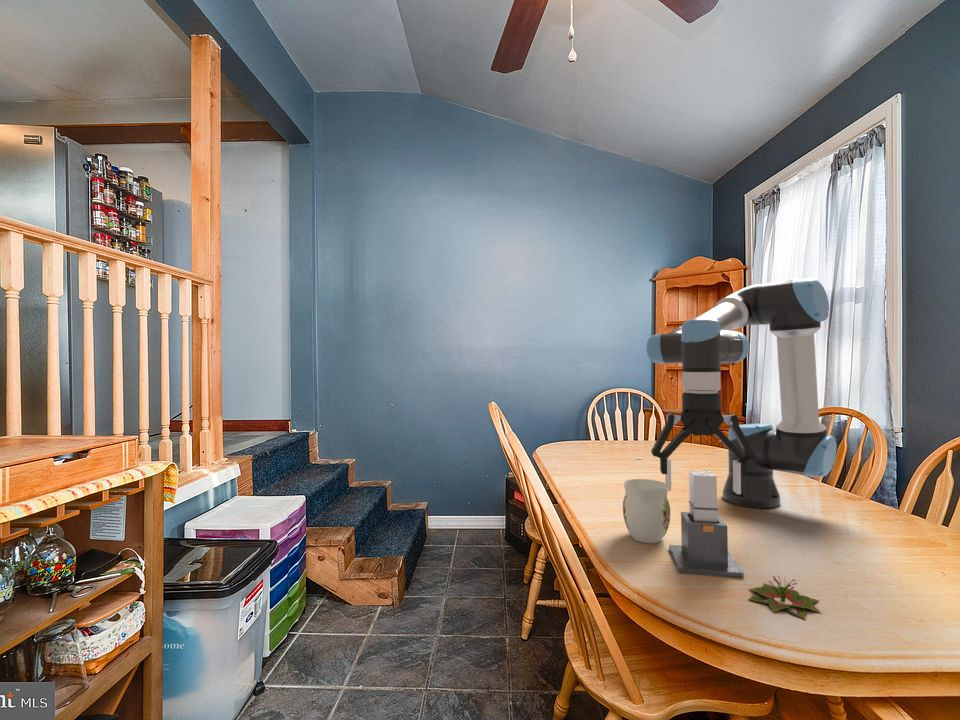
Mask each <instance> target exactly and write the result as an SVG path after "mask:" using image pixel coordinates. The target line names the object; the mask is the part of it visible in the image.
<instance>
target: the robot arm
mask: <svg viewBox="0 0 960 720" xmlns="http://www.w3.org/2000/svg"><path fill="white" fill-rule="evenodd" d="M829 311H830V303H829V299H828V295H827V292H826V290H825V288H824V286H823V284H822V283H821V282H820V281H819V280H817V279H815V278H810V277H808V278H795V279H789V280H783V281H782V280H781V281H774V282H768V283H767V282H766V283H759V284H758V283H757V284H753V285H749V286H747V287H744V288H741V289H739V290H737V291H735V292H732V293H730V294H728V295H727V296H724V297H723V298H721V299H720V300H718V301H717V302H716V304H715V305H714V307H712V308H711V309H709V310H707V311H706V312H703V313H701V314H700V315H698V316H696V317H695V318H693V319H689V320H685V321H684V322H683V323H682V324H681V325H680V326H679V327H677V328H676V329H674V330H672V331H670V332H668V333H662V332H661V333H657V334H653V335H650V337H648V340H647V342H646V348H645V349H646V355H647V357H648V359H649V360H650V361H651V362H652V363H655V364H664V365H667V364H669V365H670V364H673V365H674V364H675V365H676V364H681V366H682V368H681V379H682V380H681V389H682V390H683V391H684V392H682V394H681V396H682V397H681V410H682V411H681V413H680V415H679V414H672V412H670V413H669V412H668V413H667V414H666V418H665V424H664V426H663V427H662V430H661V431H660V433H659V436H658V437H657V439H656V441H655V443H654V444H653V446H652V449H651V450H650V453H651V454H652V456H653V457H656V458H659V464H660V467H659V471H660V473H661V474H662V475H665V478H664V479H665V482H664V483H665V485H666V489H667V491H668V492H672V460H671V458H669V457H670V456H671V455H672V454H673V453H674V452H675V450H676V449H678V447H679V446H680V445H681V444H682V443H683V442H684V441H685V440H686V439H687V438H688V437H689V436H690V435H694V436H695V437H696V436H705V437H711V436H712V435H715V437H716V438H717V439H718V441H720V442H721V444H723V445H724V446H725V448H726V449H728V453H727V454H728V458H727V459H728V474H727V477H726V479H725V482H724V486H723V488H722V499H723V500H725V501H726V502H728V503H731V504H735V505H738V506H740V507H741V506H742V507H749V508H757V509H770V508H771V509H773V508H776V507H779V506H781V495H780V492H779V489H778V487H777V484H776V482H775V480H774V471H776V472H783V473H787V474H789V473H790V474H795V475H800V476H804V477H812V478H813V477H815V478H824V477H825V476H827V475H828V474H829V473H830V472H831V471H832V469H833V466H834V463H835V461H836V460H835V459H836V457H837V444H838V443H837V441H836V440H837V439H836V438H835V437H834V436H833V435H831V434H827V433H828V432H827V426H825V424H823V423H822V422H821V421H820V416H819V415H820V413H819V397H818V379H817V363H816V361H817V360H816V358H817V357H816V344H815V334H816V333H817V332H818V331H819V330H820V329H821V324H822V322H824V321H826V320H827V319H828V317H829ZM757 325H759V326H761V325H768V327H769V332H770V333H771V334H773V335H774V336H775V338H776V346H777V347H776V348H777V351H776V352H777V365H778V367H777V368H778V379H779V380H778V381H779V382H778V383H779V396H780V399H779V400H780V411H781V413H780V415H781V421H780V422H779V423H777V424H776V426H775V429H774V426H773V425H772V424H771V423H745V424H740V422H739V417H738V416H737V415H735V414H733V413H730V414H729V415H723V414H722V396H721V393H720V392H719V391H721V390H722V388H721V387H722V386H721V385H722V384H721V381H722V380H721V378H722V377H721V364H727V365H731V364H734V363H735V364H737V363H739V362H742V361H744V359H745V358H747V356H748V355H749V353H750V346H751V345H750V342H749V339H748V337H747V336H746V335H745V334H743V333H742V332H739V331H736V330H737V329H740V328H742V327H746V326H747V327H748V326H757ZM679 421H680V422H681V423H682V425H683V427H682V428H681V429H680V431H678V432H677V435H676V436H675V437H673V438H672V440H671V441H669V443H668V444H667V445H666V446H665V447H664V445H665V443H666V441H667V439H668V437H669V435H670V433H671V432H672V430H673V427H674V425H677V424H678V422H679ZM724 422H725V424H726V425H728V426H730V427H729V429H728V433H727V434H728V436H727V435H725V434H724V432H723V430H721V429H720V427H721V425H722V424H723V423H724ZM663 447H664V449H663ZM662 449H663V450H662ZM661 450H662V451H661Z"/></svg>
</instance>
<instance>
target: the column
mask: <svg viewBox="0 0 960 720" xmlns="http://www.w3.org/2000/svg"><path fill="white" fill-rule="evenodd" d="M717 477H718V476H717V475H716V474H715V473H714V472H713V471H712V470H688V490H689V491H688V493H689V494H688V495H689V496H688V498H689V500H688V503H689V512H690V520H691V521H692V522H698V523H716V524H717V514H718V511H719V508H718V486H717V485H718V483H717V481H718V479H717Z"/></svg>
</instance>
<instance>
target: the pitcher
mask: <svg viewBox="0 0 960 720" xmlns="http://www.w3.org/2000/svg"><path fill="white" fill-rule="evenodd" d="M623 486H624V491H625V495H624V498H623V501H622V515H623V519H624V520H623V521H624V524H625V526H626V529H627V531H628V533H629V534H630V535H631V537H632V539H633V540H634V541H637V542H640V543H645V544H657V543H660V542H661V541H662V539H663V538H664V537H665V535H666V534H667V532H668V529H669V527H670V523H671V505H670V501H669V498H668V492H669V491H667V489H666V485H665V482H663V481H659V480H655V479H648V478H634V479H628V480H625V481H624V482H623Z"/></svg>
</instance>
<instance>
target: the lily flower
mask: <svg viewBox="0 0 960 720" xmlns="http://www.w3.org/2000/svg"><path fill="white" fill-rule="evenodd" d="M772 577H773V580H774V582H775V583H776V585H777V586H778V587H777V586H775V585H774V584H773V582H771V580H769V581H768V582H769V584H767V583H765V582H763V585H762V586H759V587H754V588H753V587H752V588H749V590H750V591H753V592H756V593H757V594H753V595H751V596H750V598H747V600H748V601H754V602H759V603H763V604H767V605H769V607H770V609H772V613H773V614H774V613H776V612H779V611H781V610H784V611H787V612H789V613H791V614H792V615H795V616H797V617H799V618H802V619H803V620H805V621H806V616H807V611H806V610H805V609H808V610H811V611H813V612H814V611H815V612H817V613H819V614H823V612H821V611H820V610H819V609H818V608H817V607H816V605H814V604H815V603H817V602H819V601H820V600H819V599H815V598H812V597H809V596H807V595H801V594H800V593H799V591H797V590H795V589H794V588H795V586H793V585H798V583H797V582H795V581H796V578H794V579H792V580H791V581H790V582H789V583H788V584H787V582H788V581H786V576H784V582H783V584H786V585H784V586H782V583H781V579H780V576H779V575H777V577H778V579H779V581H778V580H777V578H776V577H775V576H774V575H772ZM792 582H794V583H792ZM789 587H790V588H789ZM776 599H780V601H781V602H785V601H786V600H787V601H789V602H791V604H789V603H788V604H784V603H780V602H779V601H777V600H776ZM766 600H767V601H766ZM791 607H795V610H796V611H794V610H792V609H790V608H791Z"/></svg>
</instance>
